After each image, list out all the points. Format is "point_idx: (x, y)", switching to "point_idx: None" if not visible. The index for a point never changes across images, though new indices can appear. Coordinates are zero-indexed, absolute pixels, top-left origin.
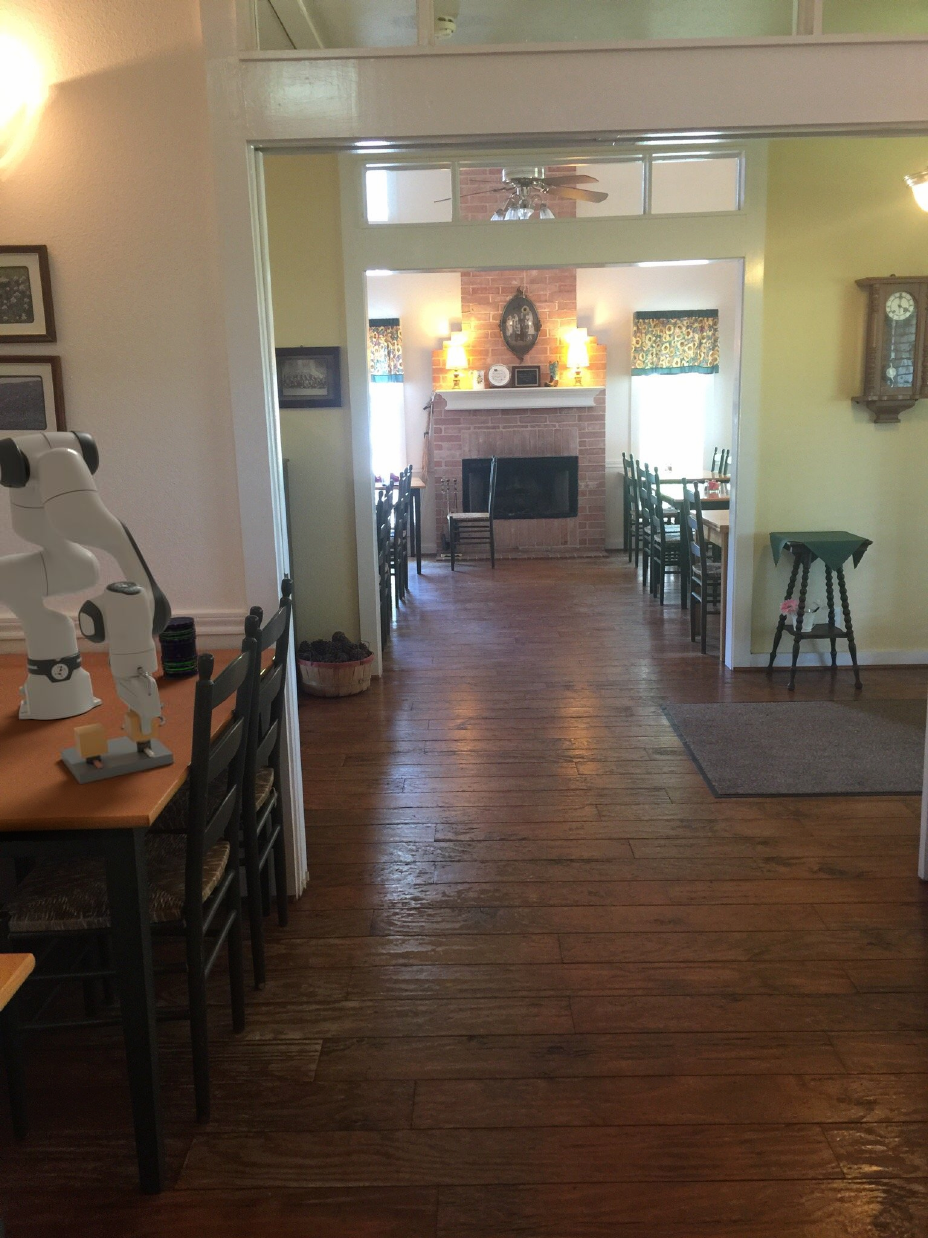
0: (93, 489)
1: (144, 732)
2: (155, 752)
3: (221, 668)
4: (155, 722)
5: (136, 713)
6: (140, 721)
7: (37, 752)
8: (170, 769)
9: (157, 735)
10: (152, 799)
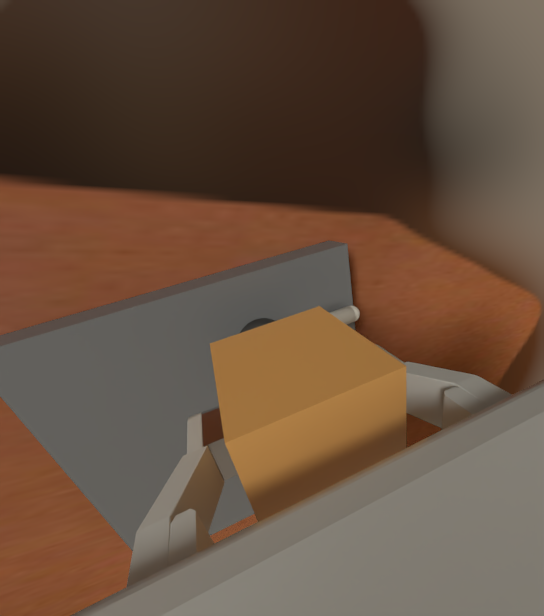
0: None
1: None
2: (305, 302)
3: None
4: (365, 341)
5: (330, 482)
6: (427, 421)
7: (58, 608)
8: (373, 252)
9: (323, 311)
10: (508, 292)
